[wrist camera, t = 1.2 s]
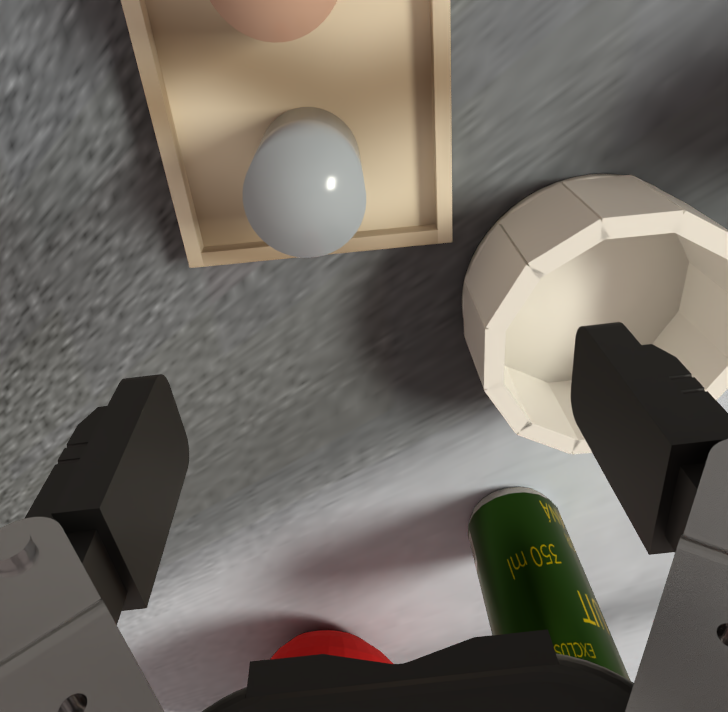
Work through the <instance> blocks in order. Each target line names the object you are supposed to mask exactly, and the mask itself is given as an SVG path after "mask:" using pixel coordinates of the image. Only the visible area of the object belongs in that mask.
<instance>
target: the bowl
mask: <svg viewBox="0 0 728 712" xmlns="http://www.w3.org/2000/svg"><path fill="white" fill-rule="evenodd" d="M462 315H463V320H464V337H465V339H466V342H467V345H468V348H469V350H470V353H471V356H472V359H473V361H474V364H475V367H476V369H477V372H478V375H479V378H480V380H481V383H482V386H483V388H484V391H485V392H486V394H487V395H488V396H489V398H490V399H491V401H492V402H493V403H494V405H495V406H496V407H497V409H498V410H499V411H500V413H501V414H502V416H503V417H504V418H505V420H506V421H507V422H508V424H509V425H510V426H511V428H512V429H513V431H514V432H515V433H517V435H519V436H522V437H525V438H527V439H530V440H533V441H536V442H538V443H541V444H544V445H547V446H550V447H552V448H555V449H558V450H561V451H563V452H566V453H569V454H571V453H572V454H582V453H592V451H591V449H590V447H589V446H588V444H587V442H586V440H585V438H584V437H583V435H582V433H581V431H580V429H579V428H578V426H577V424H576V422H575V419H574V416H573V412H572V407H571V382H572V370H573V359H574V348H575V337H576V332H577V330H578V328H579V327H581V326H588V325H597V324H605V323H614V322H621V323H623V324H624V325H625V326H626V327H627V329H628V330H629V331H630V332H631V333H632V334H633V336H634V337H635V338H636V339H637V340H638V342H639V343H640V344H641V345H647V344H653V345H655V346H657V347H658V348H660V349H662V350H664V351H666V352H668V353H670V354H671V355H673V356H675V357H677V359H678V360H679V361H680V362H681V363H682V364H683V365H684V366H685V367H686V368H687V369H688V370H689V372H690V373H691V374H692V377H695V378H696V379H697V380H698V381H699V382H700V384H701V385H702V386H703V387H704V390H705V391H708V392H709V393H710V394H711V395H712V397H713V398H714V399H715V400H717V399H718V398H719V397H720V396H721V395H722V394H723V393H724V392H725V391H726V390H727V388H728V230H727V229H725V228H724V227H722V226H721V225H719V224H717V223H716V222H714V221H713V220H711V219H710V218H708V217H707V216H705V215H703V214H702V213H700V212H699V211H697V210H696V209H694V208H693V207H691V206H689V205H688V204H686V203H685V202H683V201H681V200H679V199H677V198H675V197H673V196H671V195H669V194H667V193H666V192H664V191H662V190H660V189H658V188H657V187H655V186H654V185H652V184H649V183H647V182H645V181H643V180H641V179H639V178H637V177H635V176H632V175H616V174H590V175H583V176H577V177H572V178H569V179H566V180H562V181H559V182H556V183H554V184H551V185H549V186H546V187H544V188H542V189H540V190H538V191H536V192H534V193H533V194H531V195H529V196H527V197H526V198H524V199H523V200H521V201H520V202H519V203H517V204H516V205H515V206H513V207H512V208H511V209H510V210H508V211H507V212H506V213H505V214H504V215H503V216H502V217H501V218H500V219H499V220H498V221H497V222H496V223H495V224H494V225H493V226H492V228H491V229H490V230H489V231H488V232H487V234H486V235H485V237H484V238H483V240H482V241H481V243H480V244H479V245H478V247H477V249H476V251H475V253H474V255H473V257H472V259H471V261H470V264H469V267H468V269H467V272H466V275H465V280H464V284H463V290H462Z"/></svg>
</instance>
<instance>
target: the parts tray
mask: <svg viewBox="0 0 728 712" xmlns="http://www.w3.org/2000/svg"><path fill="white" fill-rule="evenodd" d="M121 3H122V7H123V11H124V15H125V19H126V23H127V26H128V30H129V34H130V38H131V42H132V46H133V50H134V54H135V57H136V61H137V65H138V69H139V73H140V77H141V81H142V85H143V88H144V92H145V96H146V100H147V104H148V108H149V112H150V115H151V119H152V123H153V127H154V131H155V135H156V139H157V143H158V146H159V150H160V154H161V158H162V162H163V166H164V170H165V174H166V177H167V181H168V185H169V189H170V193H171V197H172V201H173V204H174V208H175V212H176V216H177V220H178V224H179V228H180V232H181V235H182V239H183V243H184V247H185V251H186V255H187V259H188V263H189V266H190V268H194V267H204V266H214V265H224V264H235V263H245V262H255V261H265V260H275V259H286V258H296V257H294V256H290V255H287V254H284V253H281V252H279V251H277V250H275V249H274V248H272V247H270V246H269V245H268V244H266V243H265V242H264V241H263V240H262V239H261V238H260V237H259V236H258V235H257V234H256V232H255V231H254V230H253V228H252V226H251V225H250V223H249V221H248V219H247V216H246V214H245V210H244V205H243V184H244V180H245V177H246V174H247V171H248V169H249V167H250V164H251V162H252V160H253V157H254V155H255V153H256V151H257V148H258V146H259V144H260V141H261V139H262V137H263V134H264V132H265V131H266V129H267V128H268V126H269V125H270V124H271V123H272V121H274V120H275V119H276V118H277V117H278V116H280V115H281V114H283V113H285V112H287V111H289V110H292V109H295V108H300V107H316V108H320V109H324V110H326V111H329V112H331V113H333V114H334V115H336V116H337V117H339V118H340V119H341V120H342V121H343V122H344V123H346V124H347V126H348V127H349V128H350V130H351V131H352V133H353V134H354V136H355V139H356V141H357V144H358V147H359V152H360V158H361V165H362V171H363V177H364V184H365V190H366V209H365V213H364V217H363V220H362V222H361V225H360V227H359V228H358V230H357V232H356V233H355V234H354V236H353V237H352V238H351V239H350V240H349V241H348V242H347V243H346V244H345V245H343V246H342V247H341V248H339V249H338V250H336V251H334V252H332V253H329V254H337V253H347V252H357V251H367V250H377V249H388V248H398V247H408V246H418V245H428V244H439V243H449V242H452V144H451V34H450V0H337V2H336V4H335V6H334V8H333V9H332V11H331V13H330V14H329V15H328V17H327V18H326V19H325V20H324V22H322V23H321V24H320V25H319V26H318V27H317V28H316V29H315V30H313V31H312V32H310V33H309V34H307V35H305V36H303V37H301V38H298V39H296V40H293V41H288V42H278V43H272V42H264V41H260V40H257V39H254V38H251V37H249V36H246V35H245V34H243V33H241V32H239V31H238V30H236V29H235V28H234V27H232V26H231V25H230V24H229V23H228V22H226V21H225V20H224V19H223V18H222V17H221V15H220V14H219V13H218V12H217V11H216V9H215V8H214V6H213V5H212V3H211V2H210V0H121Z"/></svg>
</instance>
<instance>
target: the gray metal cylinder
mask: <svg viewBox="0 0 728 712" xmlns="http://www.w3.org/2000/svg"><path fill="white" fill-rule="evenodd" d="M243 205H244V210H245V214H246V216H247V219H248V221H249V223H250V225H251V226H252V228H253V230H254V231H255V232H256V234H257V235H258V236H259V237H260V238H261V239H262V240H263V241H264V242H265V243H266V244H268V245H269V246H270V247H272V248H274V249H275V250H277V251H279V252H281V253H284V254H287V255H290V256H294V257H301V258H313V257H319V256H323V255H327V254H329V253H332V252H334V251H336V250H338V249H339V248H341V247H342V246H343V245H345V244H346V243H347V242H348V241H349V240H350V239H351V238H352V237H353V236H354V234H355V233H356V232H357V230H358V228H359V227H360V225H361V222H362V220H363V217H364V213H365V209H366V190H365V184H364V177H363V171H362V165H361V158H360V152H359V147H358V144H357V141H356V139H355V136H354V134H353V133H352V131H351V130H350V128H349V127H348V126H347V124H346V123H344V122H343V121H342V120H341V119H340V118H339V117H337V116H336V115H334V114H333V113H331V112H329V111H326V110H324V109H320V108H316V107H300V108H295V109H292V110H289V111H287V112H285V113H283V114H281V115H280V116H278V117H277V118H276V119H275V120H274V121H272V123H271V124H270V125H269V126H268V128H267V129H266V131H265V132H264V134H263V137H262V139H261V141H260V144H259V146H258V148H257V151H256V153H255V155H254V157H253V160H252V162H251V164H250V167H249V169H248V171H247V174H246V177H245V180H244V184H243Z"/></svg>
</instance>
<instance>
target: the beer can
mask: <svg viewBox="0 0 728 712" xmlns="http://www.w3.org/2000/svg"><path fill="white" fill-rule="evenodd" d="M468 537H469V541H470V545H471V549H472V553H473V557H474V561H475V566H476V570H477V574H478V578H479V582H480V586H481V590H482V594H483V598H484V603H485V607H486V611H487V615H488V619H489V623H490V627H491V631H492V635H501V634H510V633H520V632H529V631H538V630H547V629H548V632H549V634H550V637H551V640H552V643H553V646H554V649H555V652H556V654H562V655H568V656H572V657H575V658H579V659H583V660H587V661H589V662H592V663H595V664H597V665H600V666H602V667H605V668H607V669H609V670H611V671H613V672H615V673H617V674H619V675H621V676H623V677H625V678H626V679H628V680H630V678H629V676H628V674H627V671H626V669H625V667H624V664H623V662H622V660H621V657H620V655H619V652H618V650H617V648H616V645H615V643H614V641H613V638H612V636H611V634H610V631H609V629H608V626H607V624H606V622H605V619H604V617H603V615H602V612H601V610H600V608H599V605H598V603H597V600H596V598H595V596H594V593H593V591H592V589H591V586H590V584H589V582H588V579H587V577H586V574H585V572H584V570H583V567H582V565H581V563H580V560H579V558H578V556H577V553H576V551H575V548H574V546H573V544H572V541H571V539H570V537H569V534H568V532H567V530H566V527H565V525H564V522H563V520H562V518H561V515H560V513H559V511H558V508H557V507H556V506H555V505H554V504H553V503H552V502H551V501H550V500H549V499H548V498H547V497H546V496H544V495H543V494H542V493H540V492H538V491H536V490H533V489H531V488H524V487H510V488H504V489H501V490H498V491H495V492H493V493H491V494H489V495H488V496H486V497H484V498H483V499H482V500H481V501H480V502H479V503H478V504H477V505H476V506H475V508H474V510H473V512H472V514H471V517H470V521H469V524H468Z"/></svg>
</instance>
